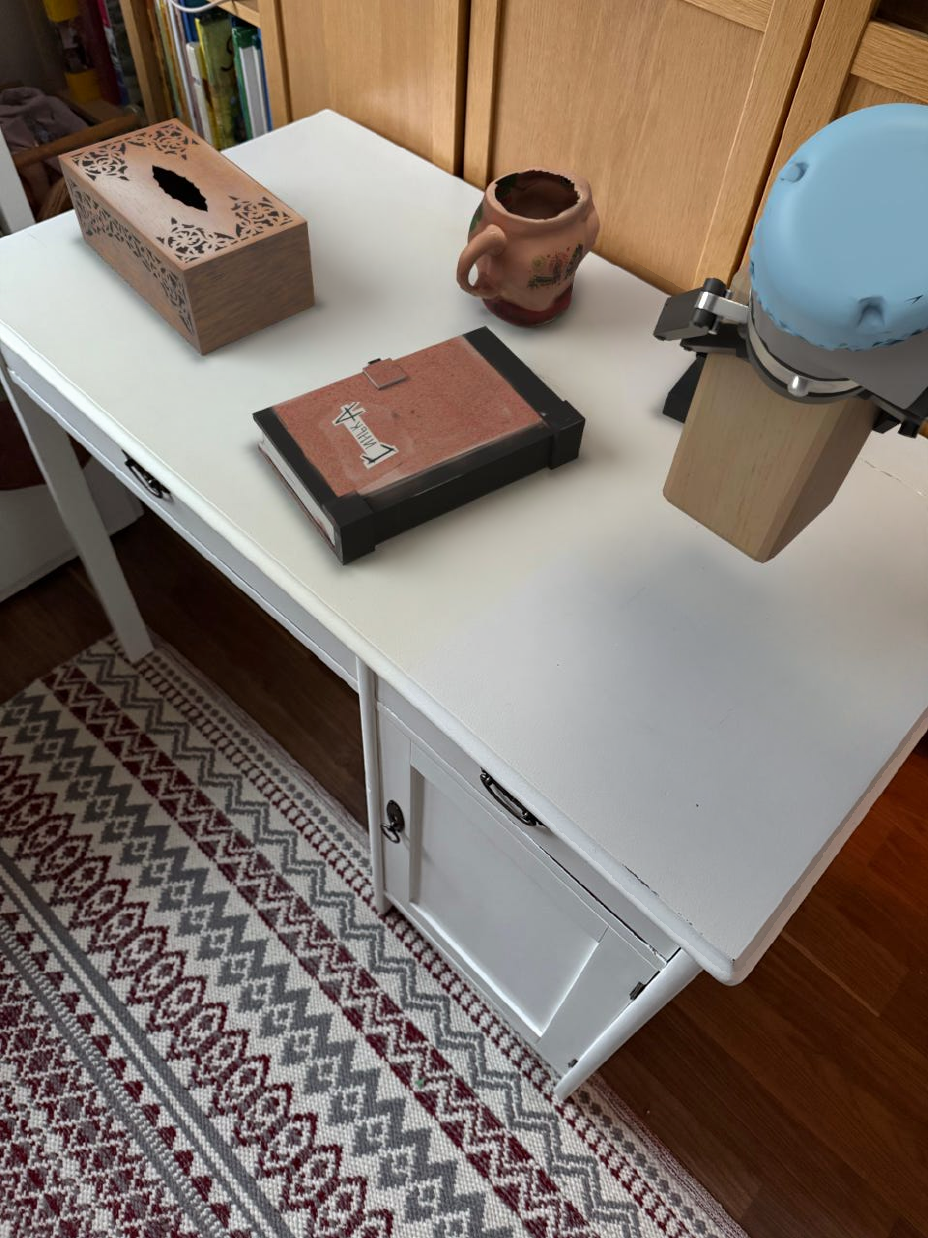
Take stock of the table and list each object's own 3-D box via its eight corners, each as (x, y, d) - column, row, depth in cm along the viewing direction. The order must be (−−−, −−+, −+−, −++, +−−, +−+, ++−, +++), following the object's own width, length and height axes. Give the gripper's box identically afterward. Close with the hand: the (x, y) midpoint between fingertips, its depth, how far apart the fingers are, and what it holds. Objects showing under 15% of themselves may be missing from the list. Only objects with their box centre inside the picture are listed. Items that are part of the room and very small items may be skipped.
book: (479, 357, 97) (482, 317, 93) (577, 457, 89) (585, 418, 85) (255, 444, 88) (248, 404, 84) (343, 565, 80) (339, 527, 76)
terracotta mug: (506, 377, 96) (519, 258, 84) (418, 327, 100) (419, 207, 88) (611, 292, 105) (635, 175, 94) (527, 250, 109) (540, 133, 98)
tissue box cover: (84, 240, 106) (57, 155, 98) (193, 200, 112) (176, 117, 103) (202, 355, 95) (182, 270, 87) (315, 304, 101) (307, 220, 93)
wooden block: (833, 504, 71) (961, 276, 54) (762, 573, 66) (878, 347, 50) (728, 438, 74) (818, 206, 58) (654, 498, 70) (729, 267, 54)
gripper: (567, 313, 47) (616, 378, 68) (1053, 479, 42) (945, 494, 62) (623, 166, 45) (655, 278, 66) (1134, 318, 40) (996, 388, 61)
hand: (796, 383), depth 64 cm, fingers closed on wooden block, 12 cm apart
